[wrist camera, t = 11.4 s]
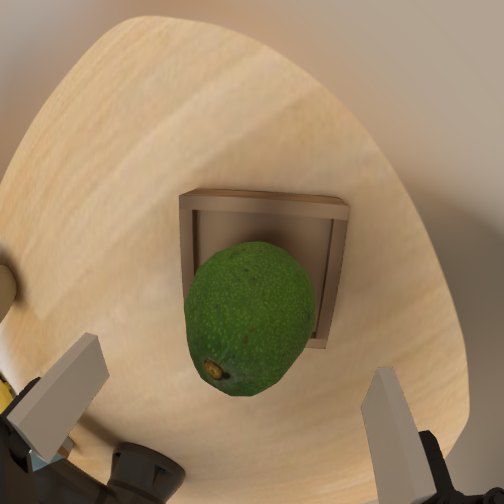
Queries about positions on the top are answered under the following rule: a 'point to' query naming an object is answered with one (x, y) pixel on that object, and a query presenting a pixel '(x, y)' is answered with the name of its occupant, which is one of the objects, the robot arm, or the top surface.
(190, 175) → the top surface
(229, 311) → the avocado
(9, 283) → the grey bowl
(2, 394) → the teapot
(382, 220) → the top surface
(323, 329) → the base
